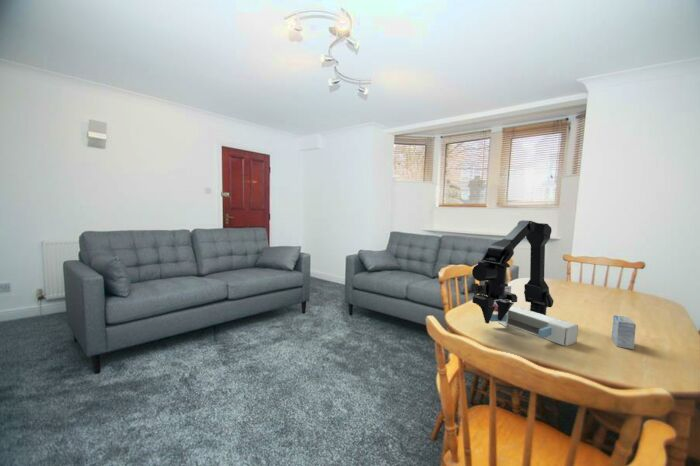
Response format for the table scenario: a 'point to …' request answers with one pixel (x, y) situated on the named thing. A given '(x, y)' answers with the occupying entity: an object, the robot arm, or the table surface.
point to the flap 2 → (553, 333)
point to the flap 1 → (504, 320)
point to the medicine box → (623, 332)
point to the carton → (540, 323)
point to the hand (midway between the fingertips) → (493, 321)
